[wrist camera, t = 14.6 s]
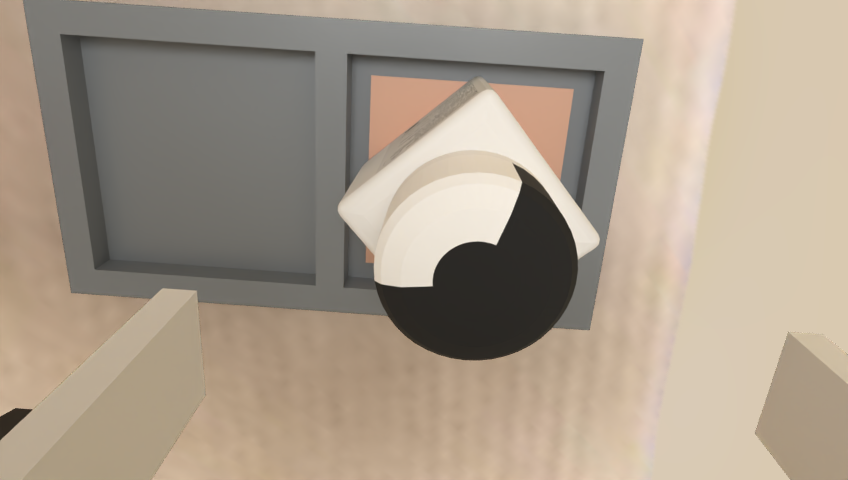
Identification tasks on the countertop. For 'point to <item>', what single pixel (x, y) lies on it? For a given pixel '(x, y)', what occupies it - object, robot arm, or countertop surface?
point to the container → (468, 230)
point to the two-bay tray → (286, 140)
